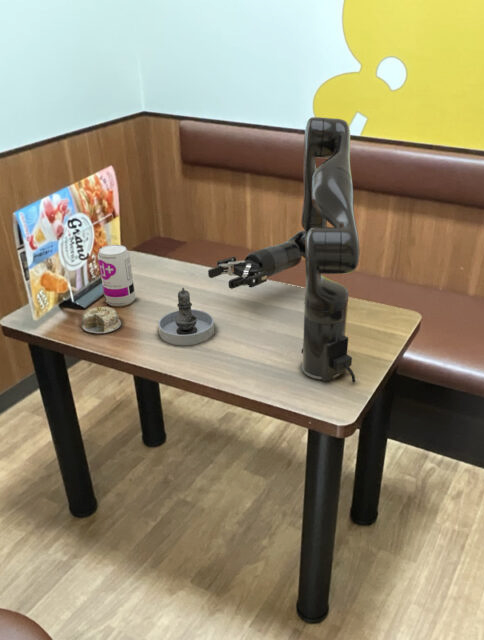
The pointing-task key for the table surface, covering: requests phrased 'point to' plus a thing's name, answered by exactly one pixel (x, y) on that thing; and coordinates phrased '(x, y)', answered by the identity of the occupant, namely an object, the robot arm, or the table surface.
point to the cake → (100, 320)
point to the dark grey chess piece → (185, 315)
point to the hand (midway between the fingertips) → (219, 279)
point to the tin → (170, 335)
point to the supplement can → (116, 275)
